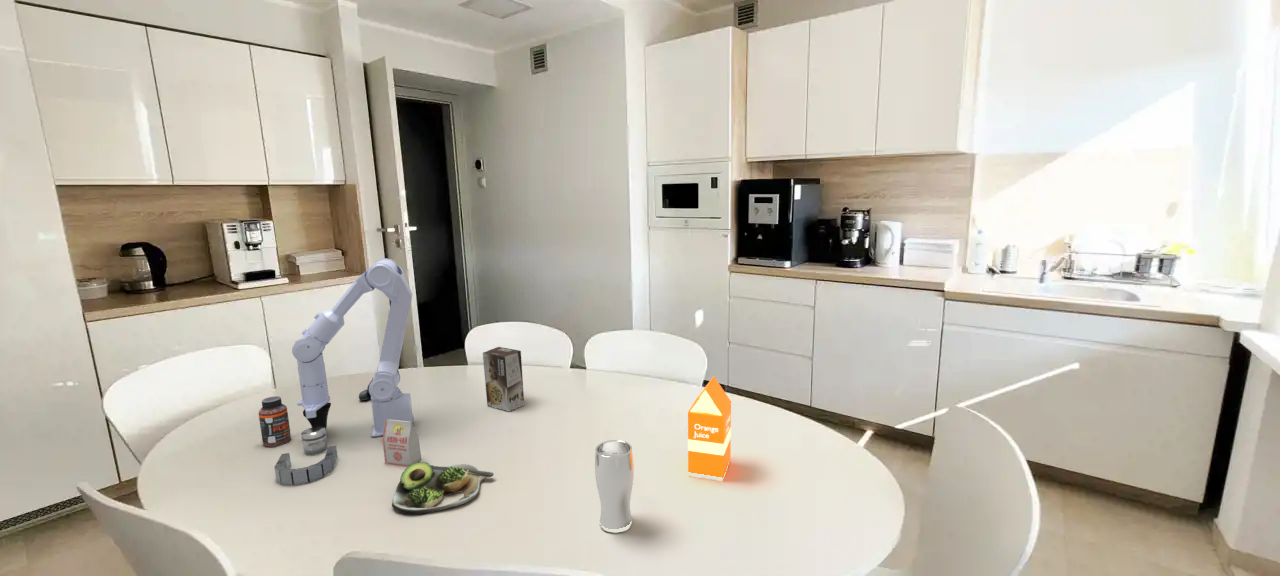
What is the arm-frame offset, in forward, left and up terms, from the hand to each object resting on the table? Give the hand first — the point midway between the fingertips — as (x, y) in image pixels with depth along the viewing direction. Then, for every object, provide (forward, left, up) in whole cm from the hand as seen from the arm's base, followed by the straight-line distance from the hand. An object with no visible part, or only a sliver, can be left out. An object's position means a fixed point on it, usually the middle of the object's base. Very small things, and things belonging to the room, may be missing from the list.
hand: (320, 434), depth 139 cm
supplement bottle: (+10, -2, -1) cm, 10 cm away
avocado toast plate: (-27, +37, -2) cm, 46 cm away
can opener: (-10, -30, -2) cm, 32 cm away
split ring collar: (0, +18, -1) cm, 18 cm away
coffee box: (-46, -3, -1) cm, 46 cm away
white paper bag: (-20, +21, -1) cm, 29 cm away
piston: (0, +7, -1) cm, 7 cm away
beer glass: (-58, +62, -1) cm, 85 cm away
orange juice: (-83, +51, -1) cm, 97 cm away
